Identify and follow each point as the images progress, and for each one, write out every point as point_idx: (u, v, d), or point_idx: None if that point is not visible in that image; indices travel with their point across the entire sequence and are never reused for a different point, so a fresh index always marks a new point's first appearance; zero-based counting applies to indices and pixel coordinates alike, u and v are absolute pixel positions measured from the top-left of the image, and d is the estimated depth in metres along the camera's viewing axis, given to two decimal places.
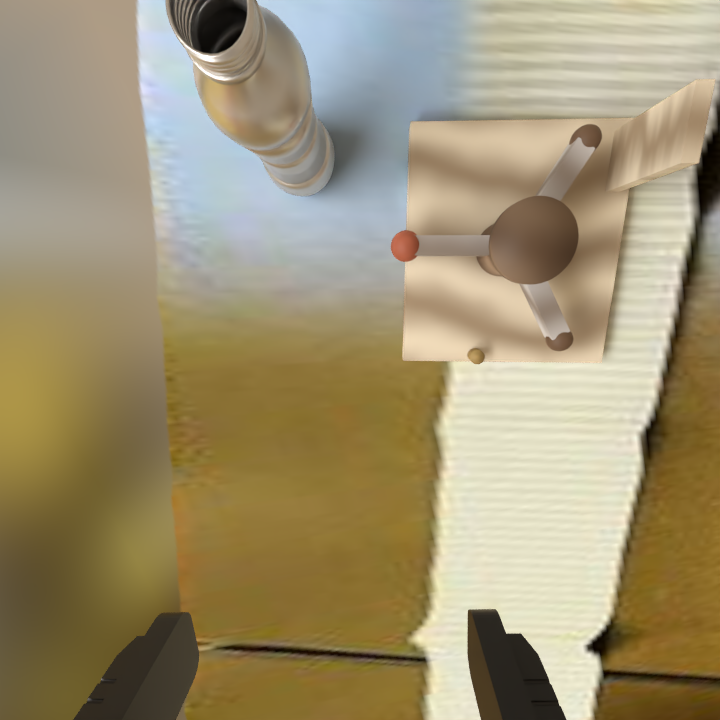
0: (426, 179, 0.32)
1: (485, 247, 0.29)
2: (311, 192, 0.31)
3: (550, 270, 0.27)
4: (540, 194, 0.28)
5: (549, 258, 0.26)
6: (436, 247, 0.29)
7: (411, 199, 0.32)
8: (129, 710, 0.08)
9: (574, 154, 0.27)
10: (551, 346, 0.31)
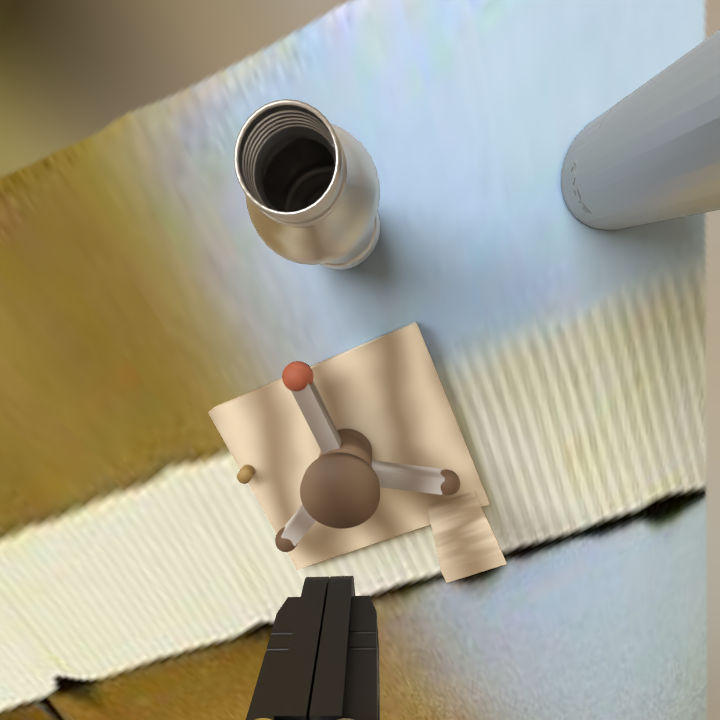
0: (375, 360, 0.32)
1: (327, 448, 0.30)
2: None
3: (323, 517, 0.28)
4: (390, 470, 0.30)
5: (332, 511, 0.28)
6: (306, 406, 0.29)
7: (352, 354, 0.32)
8: (315, 655, 0.08)
9: (431, 481, 0.30)
10: (276, 537, 0.32)
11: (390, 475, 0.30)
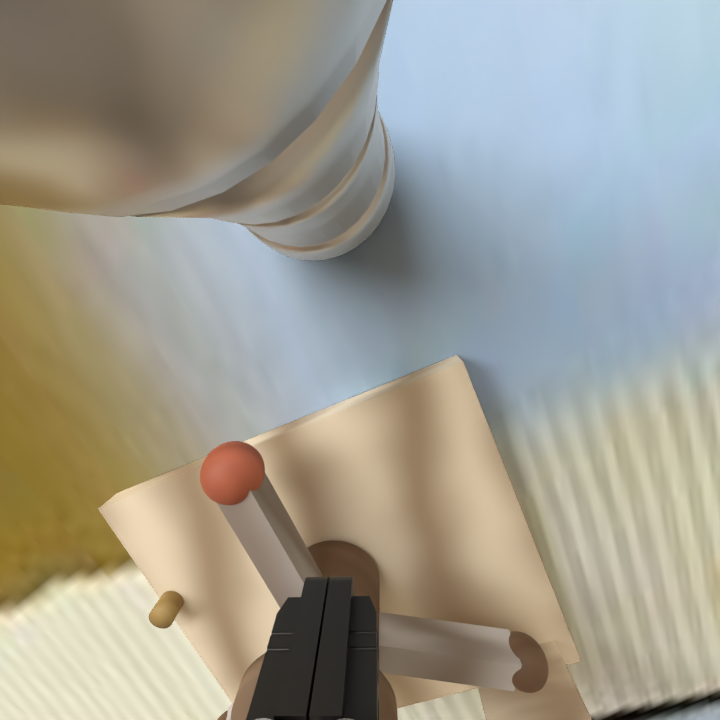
0: (384, 425, 0.18)
1: None
2: None
3: None
4: (416, 644, 0.16)
5: None
6: (250, 533, 0.15)
7: (343, 415, 0.18)
8: (315, 655, 0.08)
9: (494, 669, 0.16)
10: None
11: (415, 655, 0.16)
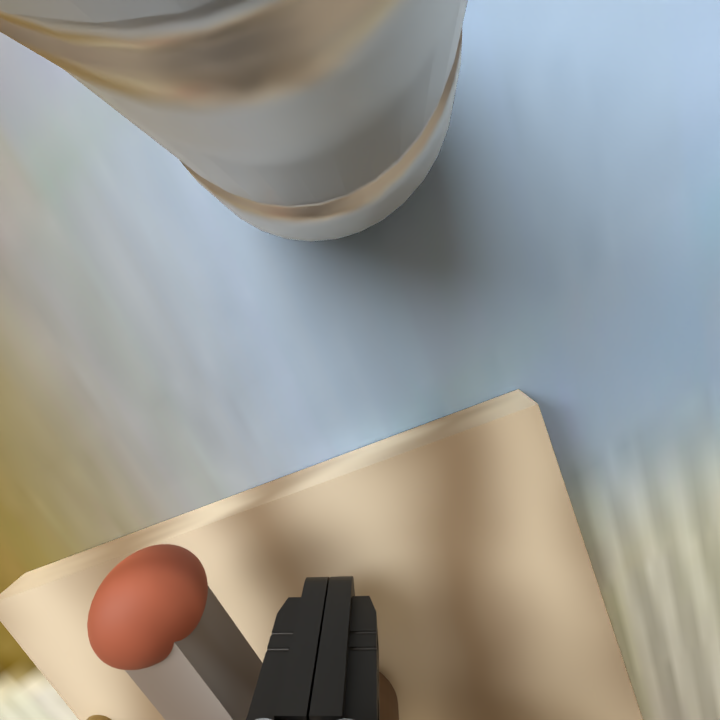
0: (413, 495, 0.12)
1: None
2: None
3: None
4: None
5: None
6: (182, 708, 0.09)
7: (352, 479, 0.12)
8: (315, 655, 0.08)
9: None
10: None
11: None
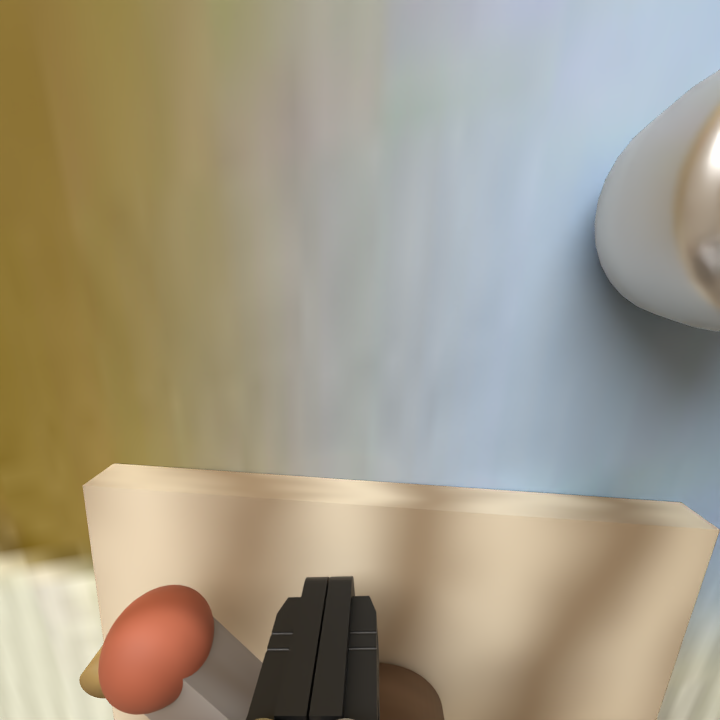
0: (568, 559, 0.12)
1: None
2: (626, 239, 0.09)
3: None
4: None
5: None
6: None
7: (527, 523, 0.12)
8: (315, 655, 0.08)
9: None
10: None
11: None
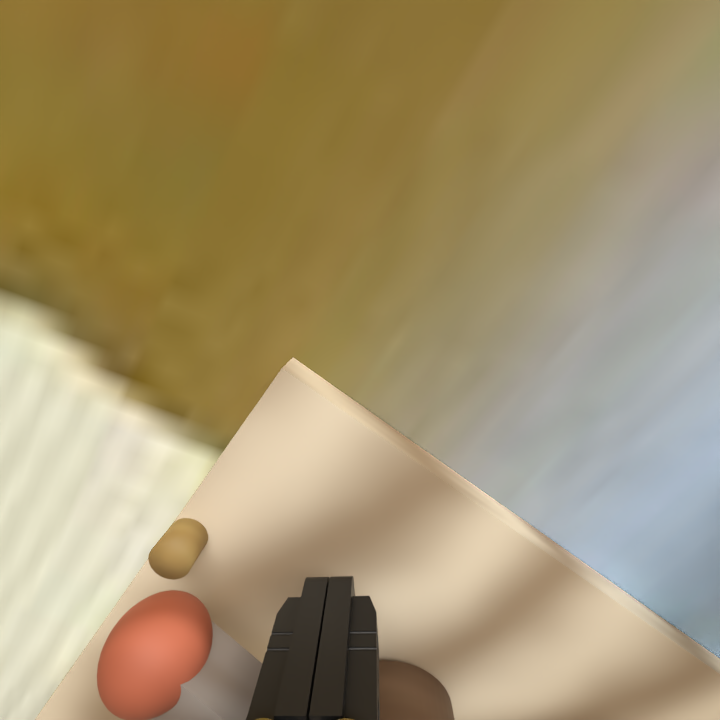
0: (638, 666, 0.13)
1: None
2: None
3: None
4: None
5: None
6: None
7: (632, 621, 0.13)
8: (315, 655, 0.08)
9: None
10: None
11: None
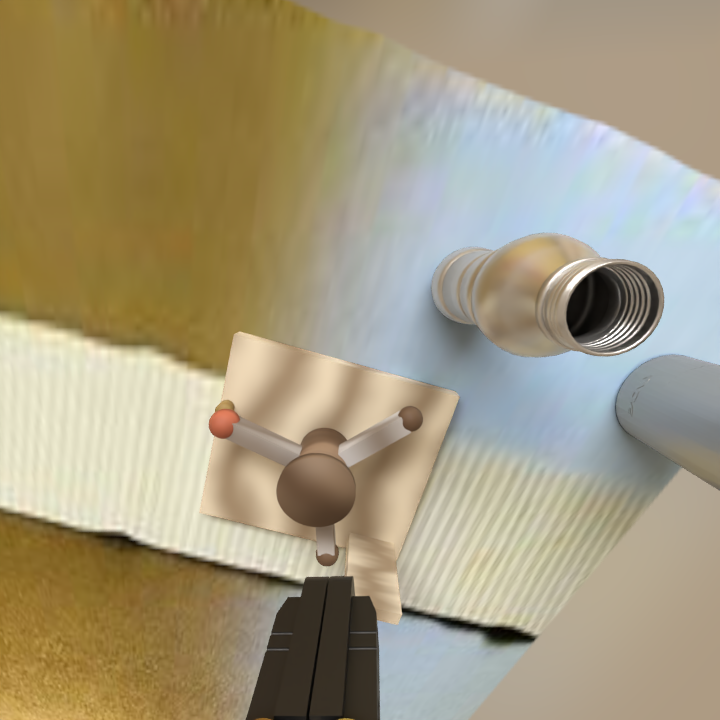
0: (406, 399, 0.33)
1: (290, 461, 0.30)
2: (432, 288, 0.29)
3: (319, 520, 0.28)
4: (354, 443, 0.30)
5: (322, 511, 0.28)
6: (247, 441, 0.30)
7: (394, 381, 0.33)
8: (315, 655, 0.08)
9: (392, 428, 0.29)
10: None
11: (356, 447, 0.30)
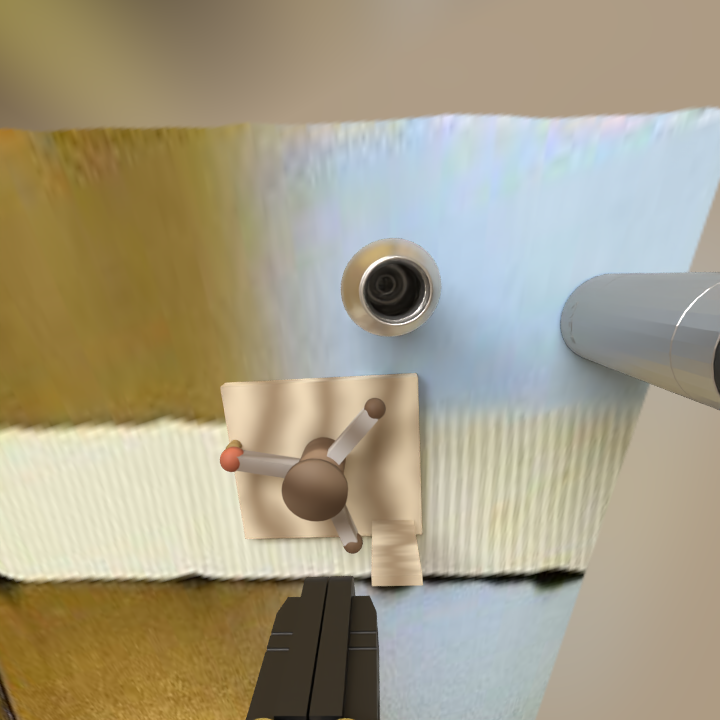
0: (374, 393, 0.38)
1: None
2: None
3: (326, 514, 0.34)
4: (337, 442, 0.35)
5: (325, 505, 0.34)
6: (253, 468, 0.36)
7: (358, 382, 0.38)
8: (315, 655, 0.08)
9: (362, 421, 0.34)
10: None
11: (339, 446, 0.35)
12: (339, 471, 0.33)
